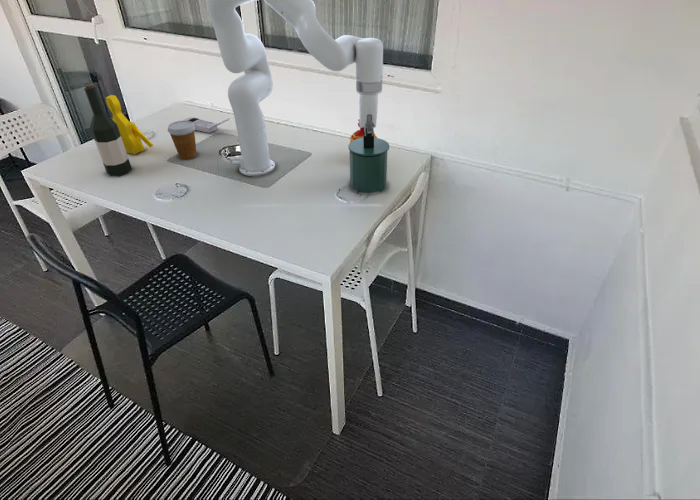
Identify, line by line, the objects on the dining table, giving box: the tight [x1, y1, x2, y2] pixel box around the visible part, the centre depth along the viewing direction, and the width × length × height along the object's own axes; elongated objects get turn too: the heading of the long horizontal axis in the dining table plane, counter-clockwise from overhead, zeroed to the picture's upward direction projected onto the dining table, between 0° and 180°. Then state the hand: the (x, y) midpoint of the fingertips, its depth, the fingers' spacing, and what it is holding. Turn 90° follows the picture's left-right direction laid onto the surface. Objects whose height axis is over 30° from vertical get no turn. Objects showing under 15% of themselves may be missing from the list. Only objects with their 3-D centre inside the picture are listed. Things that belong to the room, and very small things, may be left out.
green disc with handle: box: [347, 129, 390, 156], centre depth 140 cm, size 13×13×7 cm
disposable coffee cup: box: [167, 120, 198, 160], centre depth 166 cm, size 10×10×12 cm
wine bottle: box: [83, 83, 133, 177], centre depth 152 cm, size 8×8×30 cm
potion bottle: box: [349, 118, 378, 143], centre depth 160 cm, size 10×10×15 cm
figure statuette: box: [105, 94, 154, 155], centre depth 167 cm, size 18×8×22 cm, turn 66°
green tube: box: [349, 150, 388, 194], centre depth 146 cm, size 12×12×13 cm
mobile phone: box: [182, 117, 230, 134], centre depth 188 cm, size 6×6×25 cm
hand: (368, 145), depth 141 cm, fingers closed on green disc with handle, 2 cm apart
